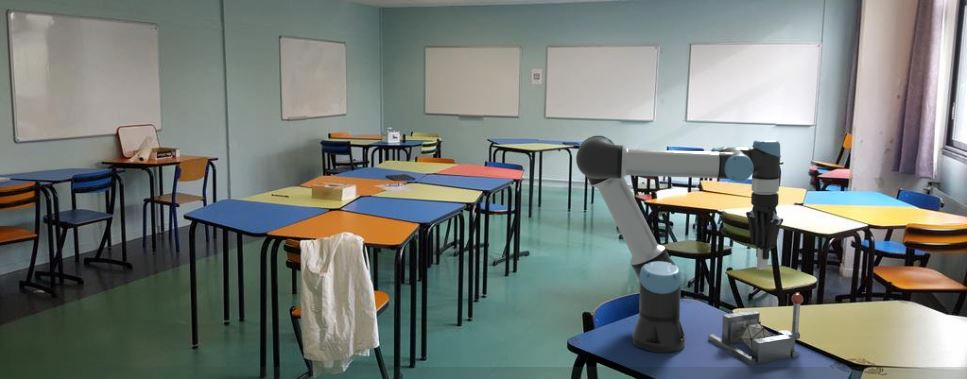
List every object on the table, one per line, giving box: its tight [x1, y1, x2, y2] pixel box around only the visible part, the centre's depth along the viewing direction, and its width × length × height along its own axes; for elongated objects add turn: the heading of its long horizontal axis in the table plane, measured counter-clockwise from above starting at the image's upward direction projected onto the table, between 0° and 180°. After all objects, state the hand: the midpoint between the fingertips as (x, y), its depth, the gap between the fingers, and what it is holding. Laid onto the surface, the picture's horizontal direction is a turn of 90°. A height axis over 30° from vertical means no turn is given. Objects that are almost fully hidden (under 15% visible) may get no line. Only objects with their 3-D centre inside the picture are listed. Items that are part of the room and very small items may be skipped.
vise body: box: [707, 329, 798, 366], centre depth 200 cm, size 19×18×6 cm
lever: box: [790, 293, 804, 341], centre depth 198 cm, size 3×3×14 cm
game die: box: [738, 320, 775, 354], centre depth 198 cm, size 9×8×10 cm
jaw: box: [721, 310, 761, 345], centre depth 204 cm, size 3×11×8 cm, turn 108°
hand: (762, 268), depth 208 cm, fingers closed
